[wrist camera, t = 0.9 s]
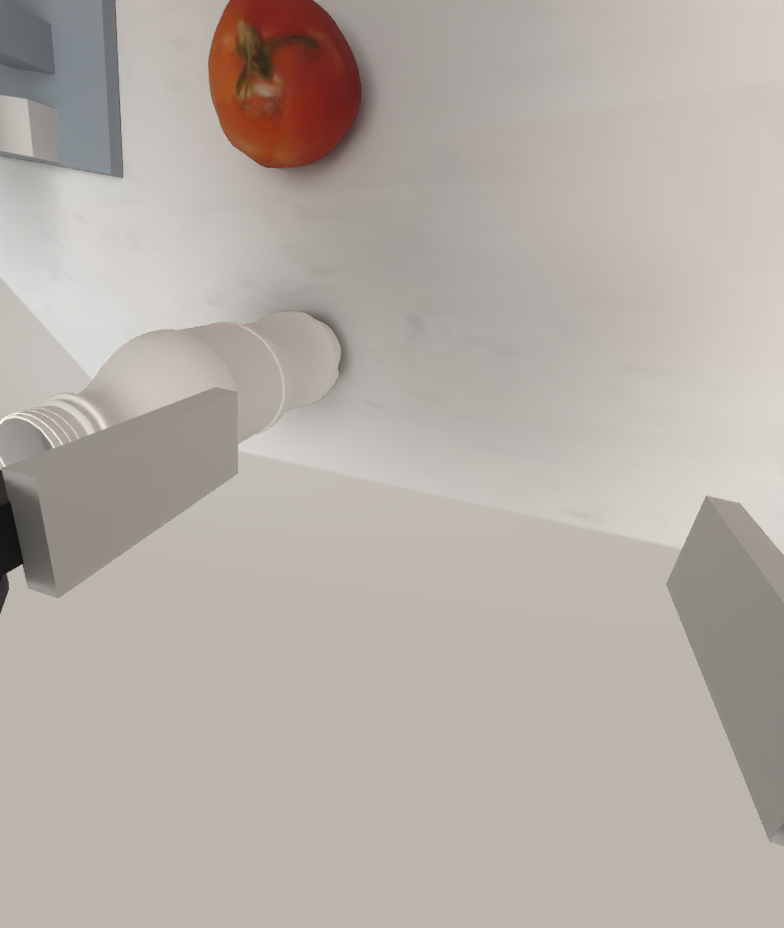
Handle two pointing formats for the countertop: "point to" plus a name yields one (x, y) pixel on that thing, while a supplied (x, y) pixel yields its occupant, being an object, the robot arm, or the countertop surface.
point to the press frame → (60, 84)
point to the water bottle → (189, 380)
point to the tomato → (282, 81)
